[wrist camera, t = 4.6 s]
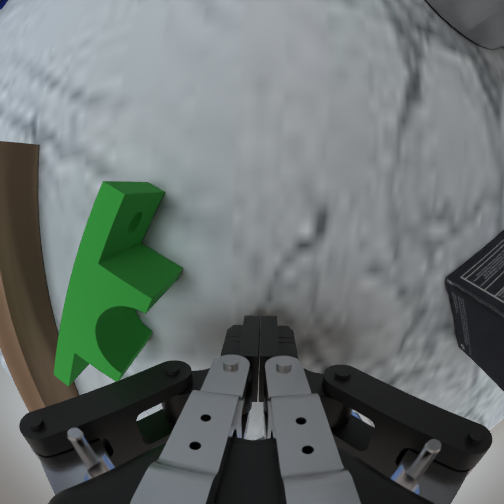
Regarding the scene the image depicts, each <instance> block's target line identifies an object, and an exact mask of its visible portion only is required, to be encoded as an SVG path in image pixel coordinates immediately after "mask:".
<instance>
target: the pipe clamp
mask: <svg viewBox="0 0 504 504" xmlns="http://www.w3.org/2000/svg"><path fill="white" fill-rule="evenodd" d="M164 194H165V192H164V191H162V190H161V189H159V188H157V187H155V186H154V185H152V184H150V183H148V182H113V181H103V183H102V185H101V188H100V190H99V192H98V195H97V198H96V200H95V203H94V205H93V208H92V211H91V213H90V216H89V219H88V222H87V225H86V228H85V230H84V233H83V237H82V240H81V243H80V246H79V249H78V253H77V256H76V259H75V263H74V267H73V270H72V274H71V278H70V282H69V286H68V290H67V295H66V299H65V304H64V308H63V314H62V319H61V324H60V330H59V336H58V343H57V350H56V358H55V367H54V376H56V377H57V378H58V379H59V380H61V381H62V382H63V383H65V384H66V385H67V386H70V385H71V383H72V382H73V381H74V380H75V379H76V378H77V377H78V376H79V375H80V373H81V372H82V371H83V370H84V369H85V368H86V367H87V366H88V365H89V364H91V365H92V366H94V367H95V368H96V369H98V370H99V371H101V372H102V373H104V374H105V375H107V376H108V377H110V378H112V379H113V380H115V381H116V382H117V381H119V380H120V379H121V378H122V376H123V375H124V373H125V372H126V371H127V369H128V368H129V366H130V365H131V364H132V362H133V361H134V359H135V358H136V357H137V355H138V354H139V353H140V351H141V350H142V348H143V347H144V346H145V344H146V343H147V342H148V340H149V338H150V336H151V334H152V331H151V330H150V329H149V328H147V327H146V326H145V325H144V324H143V323H142V321H141V320H140V318H139V317H138V315H137V313H136V310H135V309H137V310H139V311H141V312H143V313H145V314H146V313H147V311H148V310H149V309H150V308H151V307H152V306H153V305H154V304H155V303H156V302H157V301H158V300H159V298H160V297H161V296H162V295H163V294H164V293H165V292H166V291H167V290H168V289H169V288H170V287H171V286H172V285H173V283H174V282H175V281H176V280H177V279H178V277H179V275H180V273H181V271H182V269H183V268H182V267H181V266H179V265H177V264H176V263H174V262H172V261H171V260H169V259H167V258H165V257H164V256H162V255H160V254H159V253H157V252H156V251H154V250H152V249H151V248H149V247H147V246H146V245H144V244H142V241H143V238H144V236H145V234H146V232H147V229H148V227H149V225H150V223H151V221H152V218H153V216H154V214H155V212H156V210H157V208H158V206H159V204H160V202H161V200H162V198H163V196H164Z"/></svg>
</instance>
